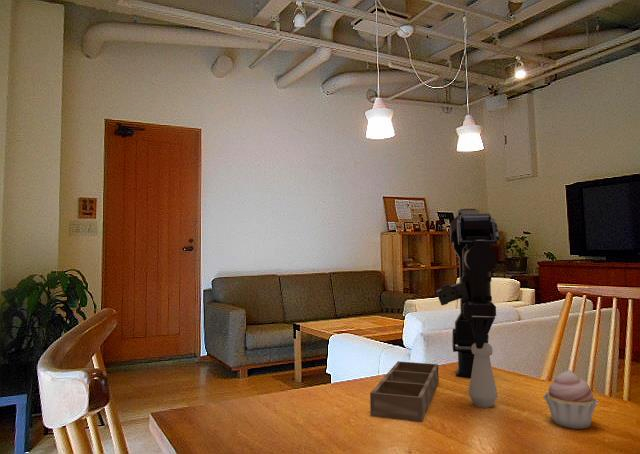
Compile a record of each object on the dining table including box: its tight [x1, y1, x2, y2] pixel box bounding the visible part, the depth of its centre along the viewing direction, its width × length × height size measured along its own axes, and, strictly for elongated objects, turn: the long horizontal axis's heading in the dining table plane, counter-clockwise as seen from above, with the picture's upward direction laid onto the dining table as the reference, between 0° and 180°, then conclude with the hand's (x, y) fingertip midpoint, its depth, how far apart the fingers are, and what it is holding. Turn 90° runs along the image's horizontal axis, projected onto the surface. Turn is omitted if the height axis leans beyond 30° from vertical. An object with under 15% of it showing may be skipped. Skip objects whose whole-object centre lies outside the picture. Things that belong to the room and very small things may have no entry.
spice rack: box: [369, 361, 440, 423], centre depth 107 cm, size 29×10×4 cm, turn 160°
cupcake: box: [543, 369, 599, 430], centre depth 90 cm, size 9×9×10 cm
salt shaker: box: [468, 343, 498, 409], centre depth 102 cm, size 6×6×13 cm
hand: (478, 343), depth 102 cm, fingers open, 9 cm apart
